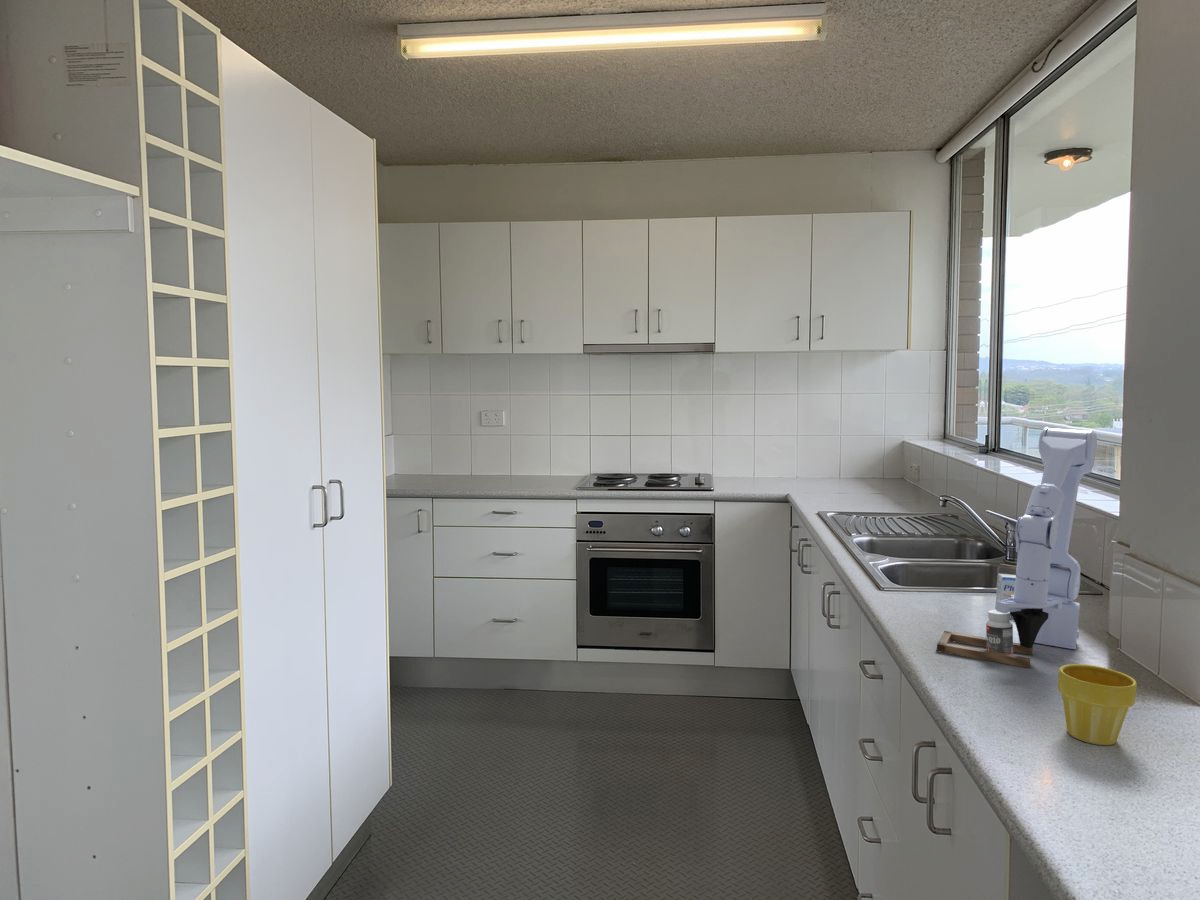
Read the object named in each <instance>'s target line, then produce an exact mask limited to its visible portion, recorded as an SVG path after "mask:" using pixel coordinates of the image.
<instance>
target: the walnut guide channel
mask: <svg viewBox="0 0 1200 900" xmlns="http://www.w3.org/2000/svg"><path fill="white" fill-rule="evenodd" d="M953 641H955V642H954V643H959V642H960V644H966V645H971V646H978V647H983V648H987V640H986V637H983V636H978V635H971V634H965V633H961V632H954V631H950V630H949V631H948V630H944V631H943V632H942V635H941V636H940V638H939V639H938V642H937V644H936V652H937V651H941V652H940V653H943V652H947V653H946V654H948V653H951V654H950V655H954V654H956V655H955V656H959V655H960V657H965V656H966V658H970V657H971V658H972V659H976V660H983V661H989V662H994V663H1000V664H1004V665H1005V664H1006V665H1010V666H1016V667H1022V668H1027V669H1030V668H1031V660H1032V659H1031V657H1026V656H1021V655H1016V654H1023V655H1028V656H1033V651H1034V646H1033V647H1032V648H1029V649H1028V648H1025V647H1023V646H1020V642H1014V641H1013V653H1016V654H1014V655H1010V654H1004V653H999V652H993V651H987V649H986V650H985V649H980V648H975V647H969V646H965V645H964V646H963V645H959V644H958V645H957V644H951V642H953ZM971 658H970V659H971Z"/></svg>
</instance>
